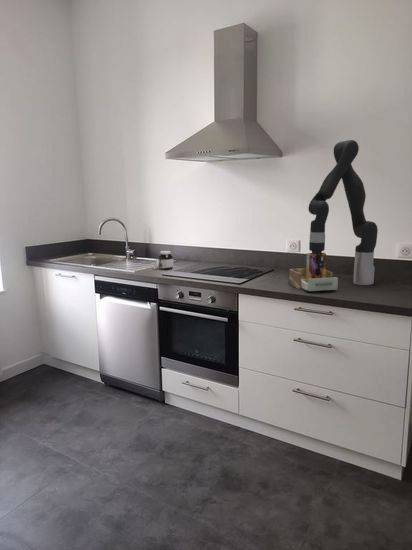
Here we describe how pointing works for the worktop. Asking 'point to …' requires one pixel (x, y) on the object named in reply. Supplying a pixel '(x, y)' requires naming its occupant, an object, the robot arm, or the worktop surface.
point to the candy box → (314, 267)
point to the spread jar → (164, 261)
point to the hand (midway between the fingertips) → (315, 274)
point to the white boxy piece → (320, 284)
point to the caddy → (301, 276)
